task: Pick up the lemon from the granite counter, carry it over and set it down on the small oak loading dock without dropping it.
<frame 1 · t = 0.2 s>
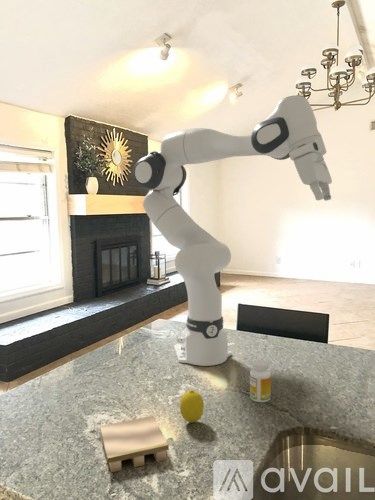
hand: (324, 199, 107), 52 cm above the worktop, tool tilted 20°, fingers open, 8 cm apart
lemon: (192, 423, 92), on the worktop
supplement bottle: (260, 398, 104), on the worktop
dock: (133, 448, 82), on the worktop
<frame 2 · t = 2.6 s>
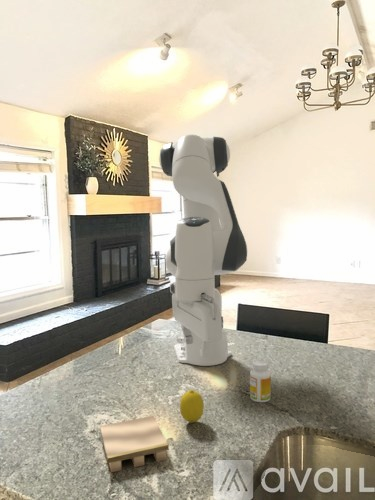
hand: (196, 349, 90), 18 cm above the worktop, tool pointing down, fingers open, 8 cm apart
nothing on the worktop moved.
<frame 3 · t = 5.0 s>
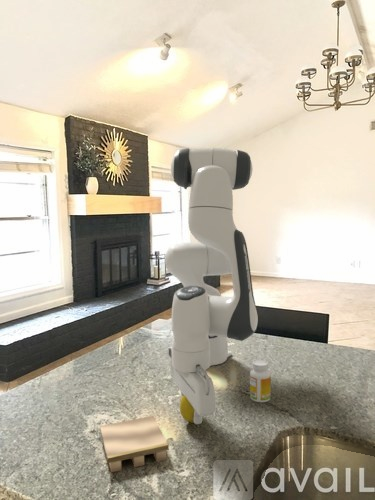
hand: (192, 414, 92), 2 cm above the worktop, tool pointing down, fingers closed on lemon, 5 cm apart
lemon: (192, 423, 92), on the worktop, touching gripper
everything else where it was.
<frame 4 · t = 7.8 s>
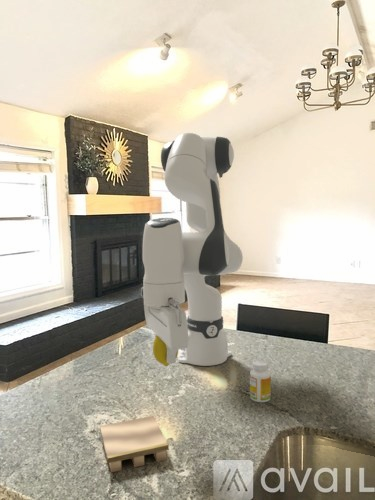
hand: (165, 357, 85), 18 cm above the worktop, tool pointing down, fingers closed on lemon, 5 cm apart
lemon: (166, 367, 85), point 16 cm above the worktop, touching gripper
everything else where it was.
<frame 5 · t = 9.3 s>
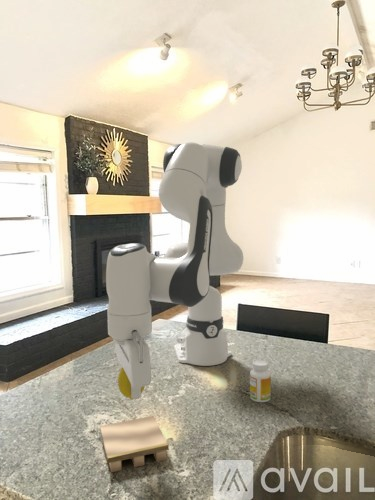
hand: (132, 389, 81), 13 cm above the worktop, tool pointing down, fingers closed on lemon, 5 cm apart
lemon: (132, 400, 81), point 11 cm above the worktop, touching gripper
everything else where it was.
when the fingers open (6 cm above the worktop, at t = 10.8 s): lemon drops 1 cm, resting on dock.
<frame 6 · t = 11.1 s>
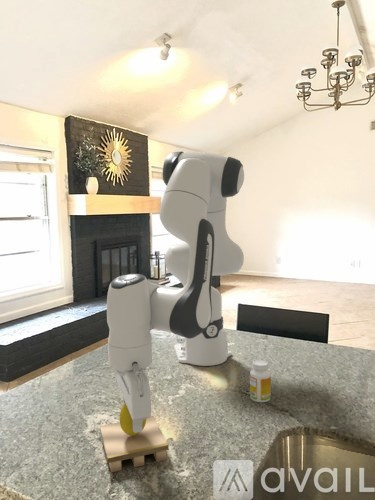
hand: (132, 418, 82), 7 cm above the worktop, tool pointing down, fingers open, 8 cm apart
lemon: (133, 437, 82), point 3 cm above the worktop, touching dock
everything else where it was.
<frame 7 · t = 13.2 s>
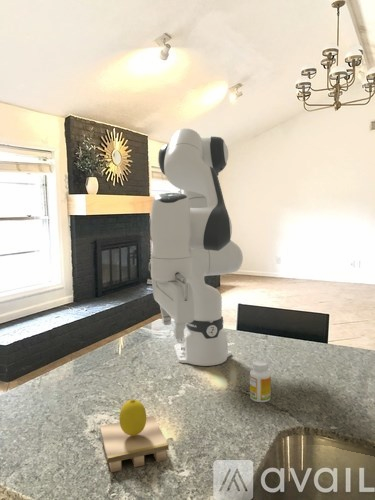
hand: (172, 330, 87), 23 cm above the worktop, tool pointing down, fingers open, 8 cm apart
nothing on the worktop moved.
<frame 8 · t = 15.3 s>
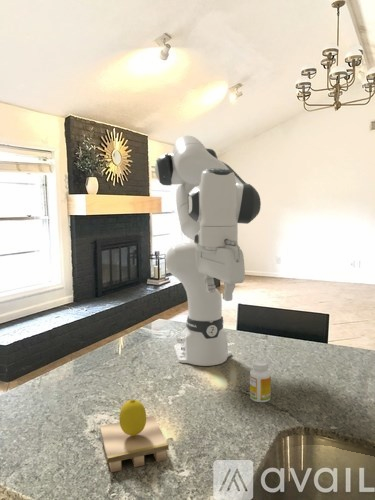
hand: (218, 296, 93), 29 cm above the worktop, tool pointing down, fingers open, 8 cm apart
nothing on the worktop moved.
at the end: lemon 0.5 cm from the dock (horizontally); lemon point 2.8 cm above the worktop; lemon touching dock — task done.
